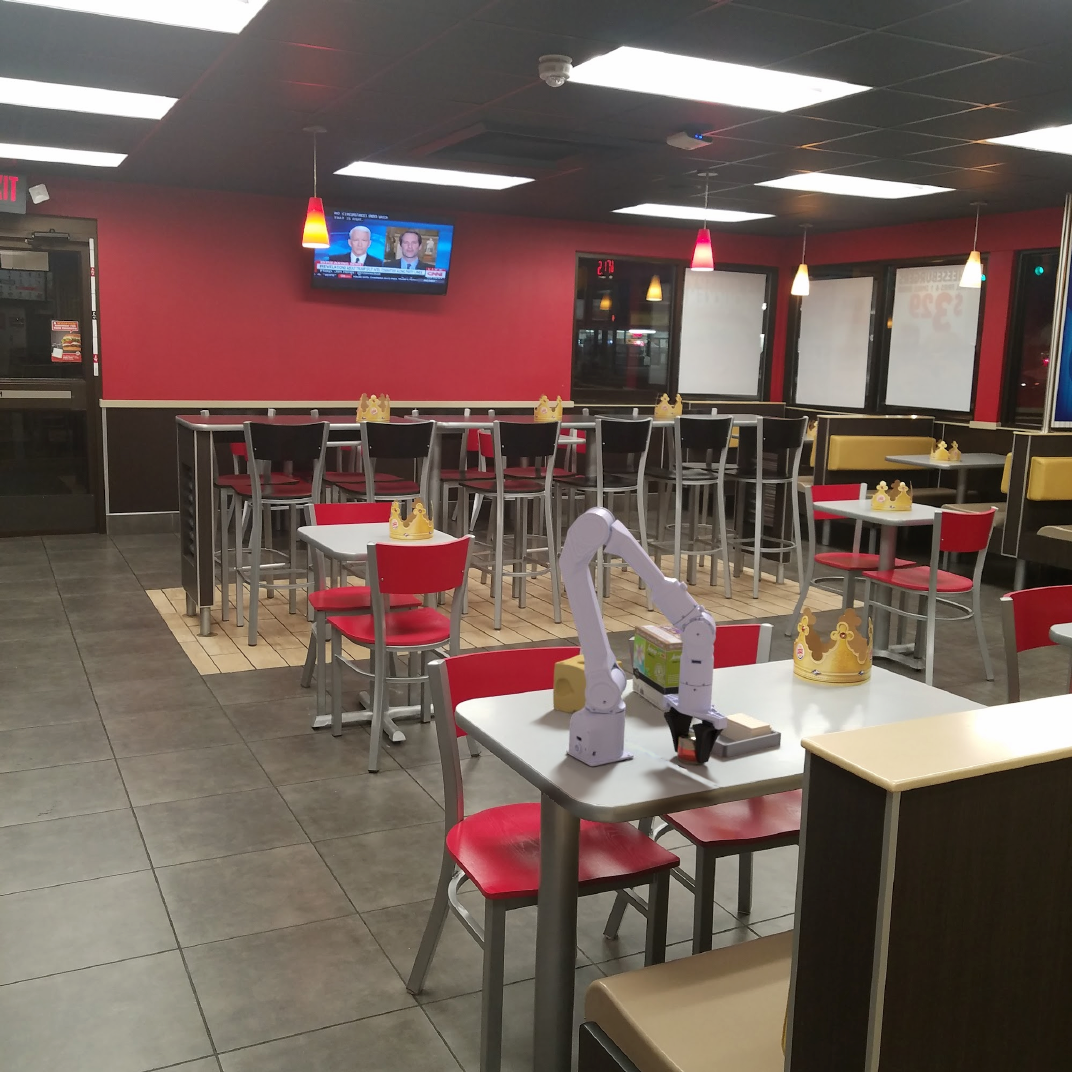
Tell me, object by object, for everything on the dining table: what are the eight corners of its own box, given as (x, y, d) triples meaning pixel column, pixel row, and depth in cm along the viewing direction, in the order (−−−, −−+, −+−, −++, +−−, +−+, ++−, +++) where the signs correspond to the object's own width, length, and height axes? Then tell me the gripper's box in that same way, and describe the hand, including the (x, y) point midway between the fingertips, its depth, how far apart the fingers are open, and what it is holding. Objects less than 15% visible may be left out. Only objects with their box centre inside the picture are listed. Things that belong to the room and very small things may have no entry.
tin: (689, 771, 180) (691, 743, 179) (671, 762, 184) (672, 735, 184) (710, 766, 183) (712, 739, 182) (692, 757, 187) (693, 730, 186)
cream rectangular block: (750, 747, 191) (752, 729, 190) (720, 734, 197) (721, 716, 197) (770, 743, 193) (771, 724, 193) (739, 730, 200) (740, 712, 200)
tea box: (630, 691, 226) (633, 624, 224) (671, 687, 229) (675, 621, 227) (662, 712, 212) (666, 641, 210) (706, 708, 215) (710, 638, 213)
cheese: (593, 721, 205) (595, 671, 204) (549, 709, 212) (551, 661, 210) (622, 708, 214) (624, 661, 212) (578, 697, 220) (580, 651, 218)
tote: (724, 761, 185) (725, 745, 185) (682, 742, 194) (683, 727, 194) (780, 748, 193) (781, 733, 192) (737, 731, 202) (738, 716, 201)
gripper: (742, 689, 178) (737, 765, 180) (685, 668, 189) (681, 740, 192) (711, 695, 174) (706, 773, 176) (655, 673, 186) (651, 746, 188)
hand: (691, 756), depth 183 cm, fingers open, 5 cm apart
